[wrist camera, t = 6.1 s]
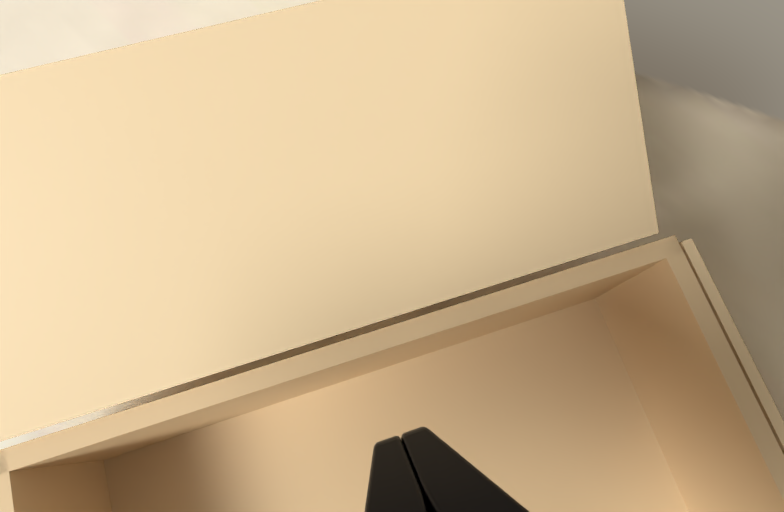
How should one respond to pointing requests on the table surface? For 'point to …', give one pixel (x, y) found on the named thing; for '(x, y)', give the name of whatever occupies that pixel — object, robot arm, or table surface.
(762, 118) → the table surface
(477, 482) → the robot arm
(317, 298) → the flap
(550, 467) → the carton
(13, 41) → the table surface
